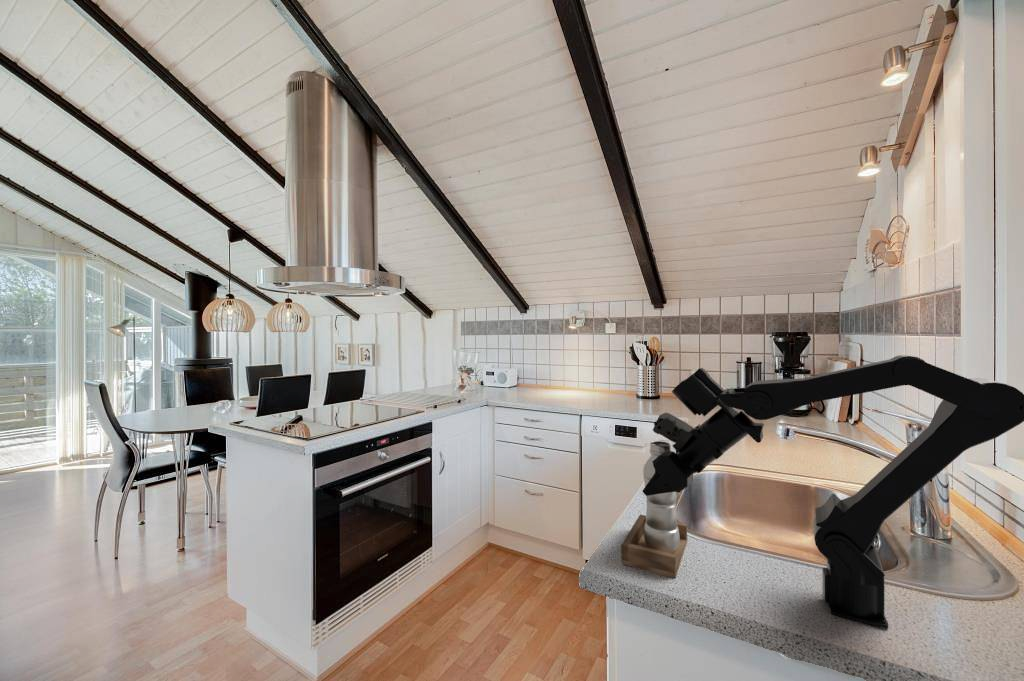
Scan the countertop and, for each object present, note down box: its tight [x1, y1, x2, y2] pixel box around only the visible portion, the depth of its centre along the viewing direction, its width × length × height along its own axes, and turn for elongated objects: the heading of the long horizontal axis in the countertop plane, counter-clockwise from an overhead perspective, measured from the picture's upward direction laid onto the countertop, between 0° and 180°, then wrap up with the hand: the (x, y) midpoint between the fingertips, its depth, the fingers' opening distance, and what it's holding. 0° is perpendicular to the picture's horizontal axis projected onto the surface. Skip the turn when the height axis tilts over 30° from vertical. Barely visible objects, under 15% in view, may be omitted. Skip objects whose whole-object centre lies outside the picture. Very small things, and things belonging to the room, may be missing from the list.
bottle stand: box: [620, 514, 688, 579], centre depth 80 cm, size 9×14×4 cm, turn 150°
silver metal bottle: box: [642, 440, 680, 553], centre depth 79 cm, size 6×7×20 cm
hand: (653, 485), depth 80 cm, fingers open, 9 cm apart
